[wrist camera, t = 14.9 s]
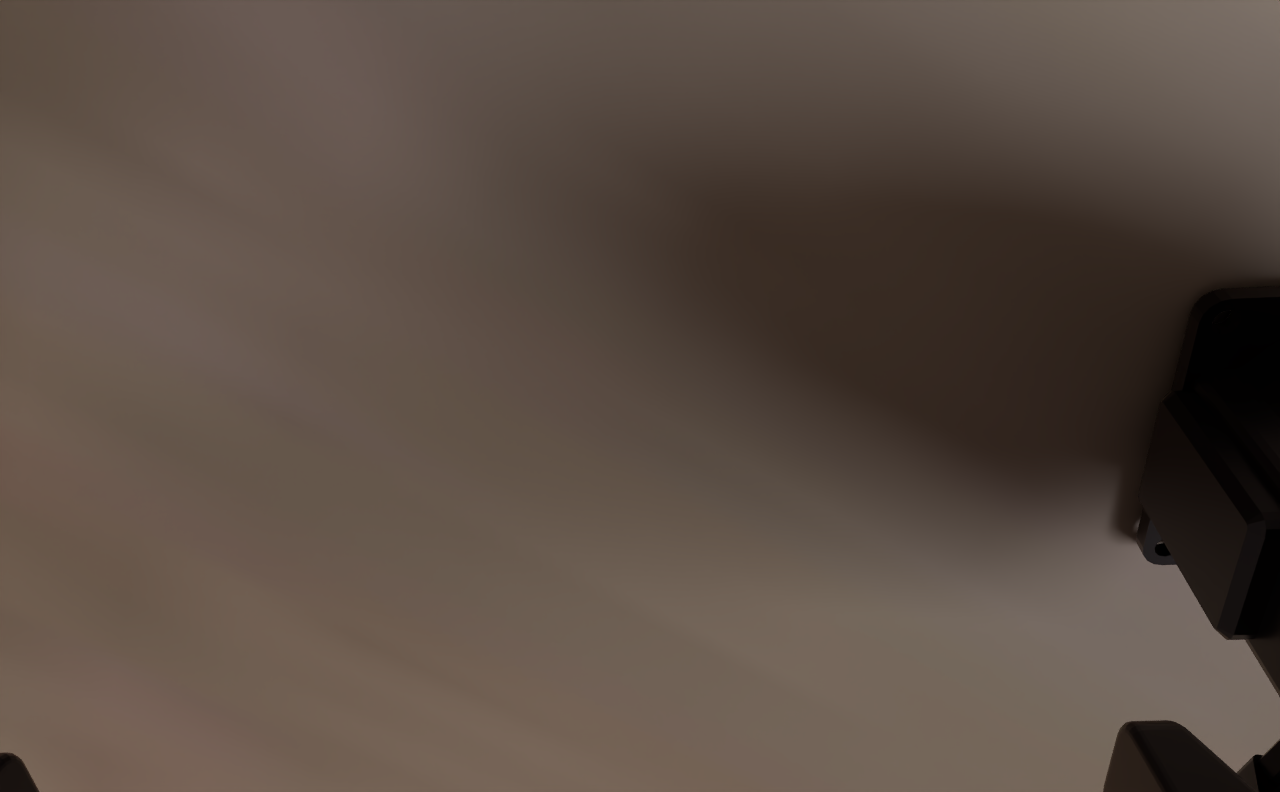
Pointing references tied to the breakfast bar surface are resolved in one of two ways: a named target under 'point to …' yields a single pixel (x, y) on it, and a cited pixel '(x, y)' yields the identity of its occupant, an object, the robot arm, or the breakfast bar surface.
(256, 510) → the breakfast bar surface
